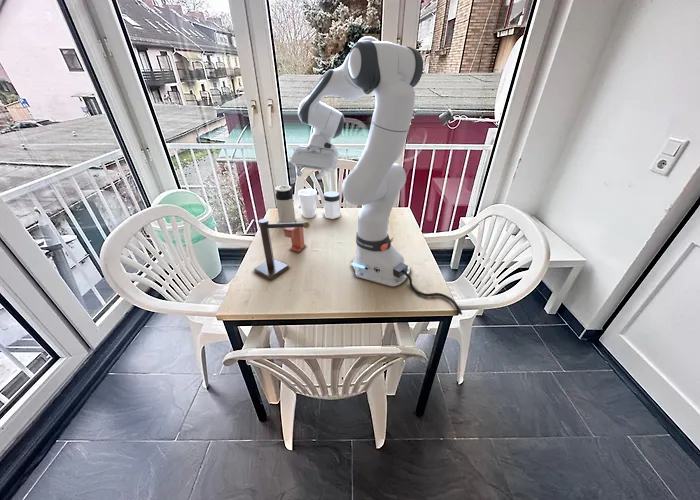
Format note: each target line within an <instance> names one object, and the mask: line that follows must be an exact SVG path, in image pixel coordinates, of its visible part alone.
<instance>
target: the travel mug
mask: <svg viewBox="0 0 700 500" xmlns="http://www.w3.org/2000/svg"><path fill="white" fill-rule="evenodd" d="M274 189H275V191H276V193H275V201H276V202H275V203H276V209H277V216H278V223H292V222H295V223H296V214H295V213H296V212H295V205H294V196H293V192H292V186H291V185H289V184H280V185H277V186H276V187H274Z"/></svg>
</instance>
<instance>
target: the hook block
mask: <svg viewBox="0 0 700 500" xmlns="http://www.w3.org/2000/svg"><path fill="white" fill-rule="evenodd" d="M292 223H296V221H295V222H292ZM283 235H284V237H285V238H290V239H291V246H290V247H289V248H290V249H289V250H290V251H292V252H298V253H301V251H302V250H303V249H304V248H306V244H305V234H304V227H294V228H283Z"/></svg>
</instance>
